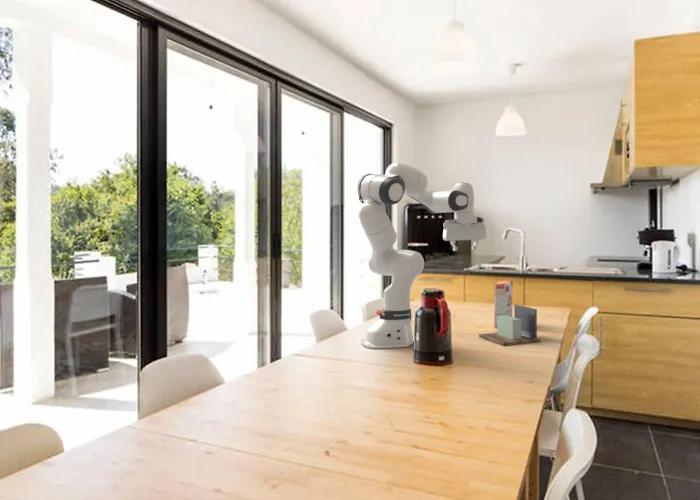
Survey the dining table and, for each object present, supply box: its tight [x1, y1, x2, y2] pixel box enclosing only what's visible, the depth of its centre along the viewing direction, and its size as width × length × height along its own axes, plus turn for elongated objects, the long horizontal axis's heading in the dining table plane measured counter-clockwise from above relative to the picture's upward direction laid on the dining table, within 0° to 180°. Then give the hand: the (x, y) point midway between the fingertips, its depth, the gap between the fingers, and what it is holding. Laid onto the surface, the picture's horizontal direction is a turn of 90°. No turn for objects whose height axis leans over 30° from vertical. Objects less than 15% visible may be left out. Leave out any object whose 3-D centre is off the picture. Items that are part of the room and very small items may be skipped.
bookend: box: [513, 304, 538, 339], centre depth 221 cm, size 4×14×12 cm, turn 18°
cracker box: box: [493, 280, 514, 329], centre depth 248 cm, size 14×6×21 cm, turn 151°
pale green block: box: [496, 315, 521, 340], centre depth 219 cm, size 4×11×8 cm, turn 18°
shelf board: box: [478, 332, 542, 347], centre depth 220 cm, size 18×18×1 cm
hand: (464, 250), depth 234 cm, fingers open, 8 cm apart
